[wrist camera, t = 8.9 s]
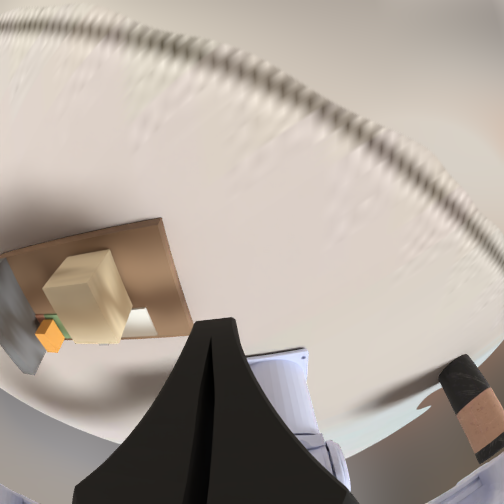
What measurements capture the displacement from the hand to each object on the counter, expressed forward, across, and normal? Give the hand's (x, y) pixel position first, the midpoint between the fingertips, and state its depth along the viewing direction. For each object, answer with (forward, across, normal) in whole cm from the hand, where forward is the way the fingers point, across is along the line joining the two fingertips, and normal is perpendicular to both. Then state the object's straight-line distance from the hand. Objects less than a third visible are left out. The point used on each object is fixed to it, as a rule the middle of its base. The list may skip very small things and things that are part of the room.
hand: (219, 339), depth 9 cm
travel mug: (+11, -35, +32) cm, 49 cm away
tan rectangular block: (+9, +10, +4) cm, 14 cm away
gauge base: (+10, +13, +4) cm, 17 cm away
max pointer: (+9, +18, +7) cm, 21 cm away
